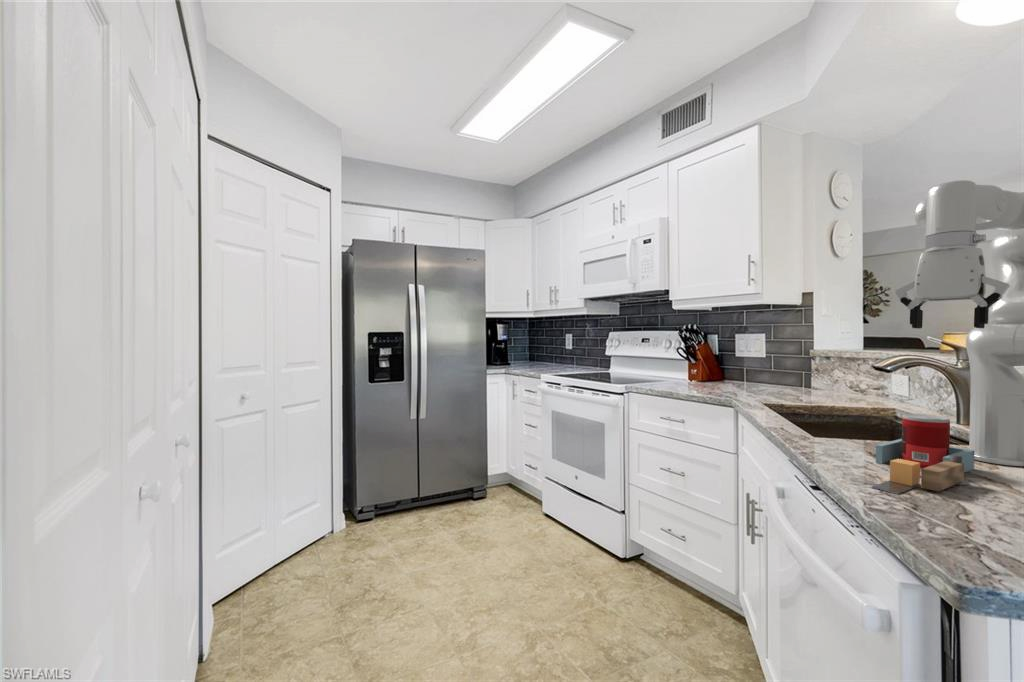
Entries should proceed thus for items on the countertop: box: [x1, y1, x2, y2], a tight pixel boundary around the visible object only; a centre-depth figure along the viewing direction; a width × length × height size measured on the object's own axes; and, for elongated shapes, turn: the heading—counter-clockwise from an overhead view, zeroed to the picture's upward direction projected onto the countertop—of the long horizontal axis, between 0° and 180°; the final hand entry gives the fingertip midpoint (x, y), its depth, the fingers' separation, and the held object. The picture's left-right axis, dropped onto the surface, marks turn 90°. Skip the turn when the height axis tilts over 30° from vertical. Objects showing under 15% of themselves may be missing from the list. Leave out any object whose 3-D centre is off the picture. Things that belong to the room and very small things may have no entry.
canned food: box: [901, 413, 951, 469], centre depth 103 cm, size 8×8×11 cm
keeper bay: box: [875, 438, 975, 473], centre depth 103 cm, size 13×13×4 cm
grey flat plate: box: [871, 479, 921, 495], centre depth 89 cm, size 10×4×1 cm, turn 119°
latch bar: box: [920, 455, 965, 492], centre depth 89 cm, size 13×2×5 cm, turn 119°
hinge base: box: [954, 480, 970, 486], centre depth 92 cm, size 4×4×1 cm
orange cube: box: [889, 458, 921, 486], centre depth 91 cm, size 4×4×4 cm
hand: (946, 328), depth 94 cm, fingers open, 9 cm apart
